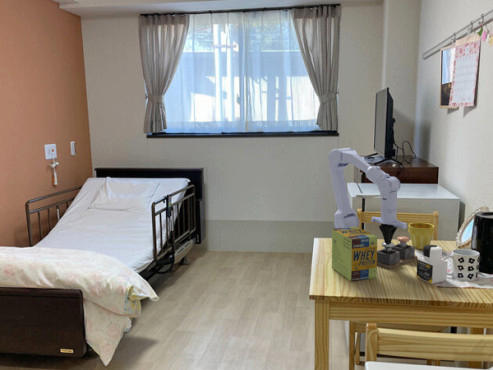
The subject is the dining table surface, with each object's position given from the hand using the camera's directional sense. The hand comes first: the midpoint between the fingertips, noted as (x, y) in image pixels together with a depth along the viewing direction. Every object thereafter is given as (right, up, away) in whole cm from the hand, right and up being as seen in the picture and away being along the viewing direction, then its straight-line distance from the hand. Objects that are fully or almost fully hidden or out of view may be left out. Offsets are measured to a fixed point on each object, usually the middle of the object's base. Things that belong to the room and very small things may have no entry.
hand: (387, 243), depth 166 cm
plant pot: (+21, -5, +21) cm, 30 cm away
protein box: (-15, -10, -6) cm, 19 cm away
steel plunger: (0, -4, +1) cm, 4 cm away
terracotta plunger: (+8, -3, +6) cm, 11 cm away
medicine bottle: (+10, -11, -15) cm, 21 cm away
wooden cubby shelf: (+4, -8, +4) cm, 10 cm away
